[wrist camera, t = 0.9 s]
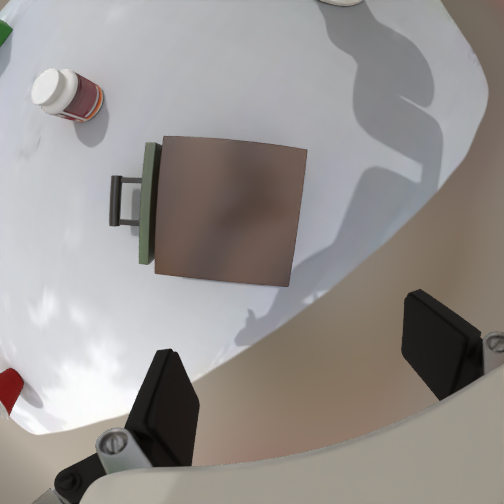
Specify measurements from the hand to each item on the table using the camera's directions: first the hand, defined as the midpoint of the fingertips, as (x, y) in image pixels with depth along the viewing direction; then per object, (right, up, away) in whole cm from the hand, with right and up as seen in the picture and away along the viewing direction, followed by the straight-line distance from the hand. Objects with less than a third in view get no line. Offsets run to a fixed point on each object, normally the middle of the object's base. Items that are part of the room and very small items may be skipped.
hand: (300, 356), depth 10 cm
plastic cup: (-61, -27, +33) cm, 74 cm away
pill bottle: (-26, +26, +20) cm, 42 cm away
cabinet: (-5, +10, +25) cm, 27 cm away
